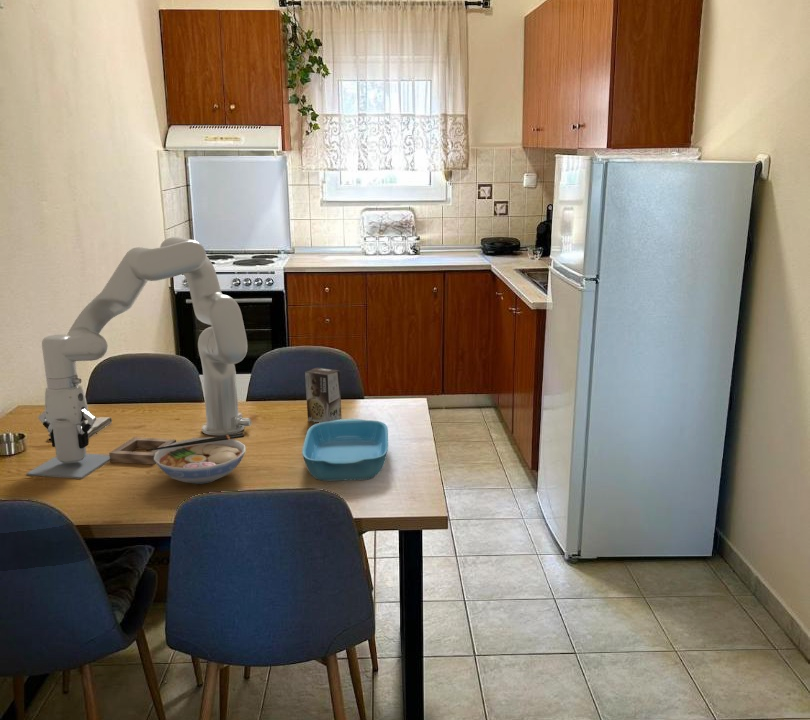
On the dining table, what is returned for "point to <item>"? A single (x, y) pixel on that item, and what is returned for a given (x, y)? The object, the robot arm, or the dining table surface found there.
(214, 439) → the ramen bowl
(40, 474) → the grey mat
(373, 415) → the dining table surface
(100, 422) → the washcloth
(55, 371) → the robot arm
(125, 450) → the shallow wooden tray
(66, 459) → the can
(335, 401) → the coffee box
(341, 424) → the casserole dish
